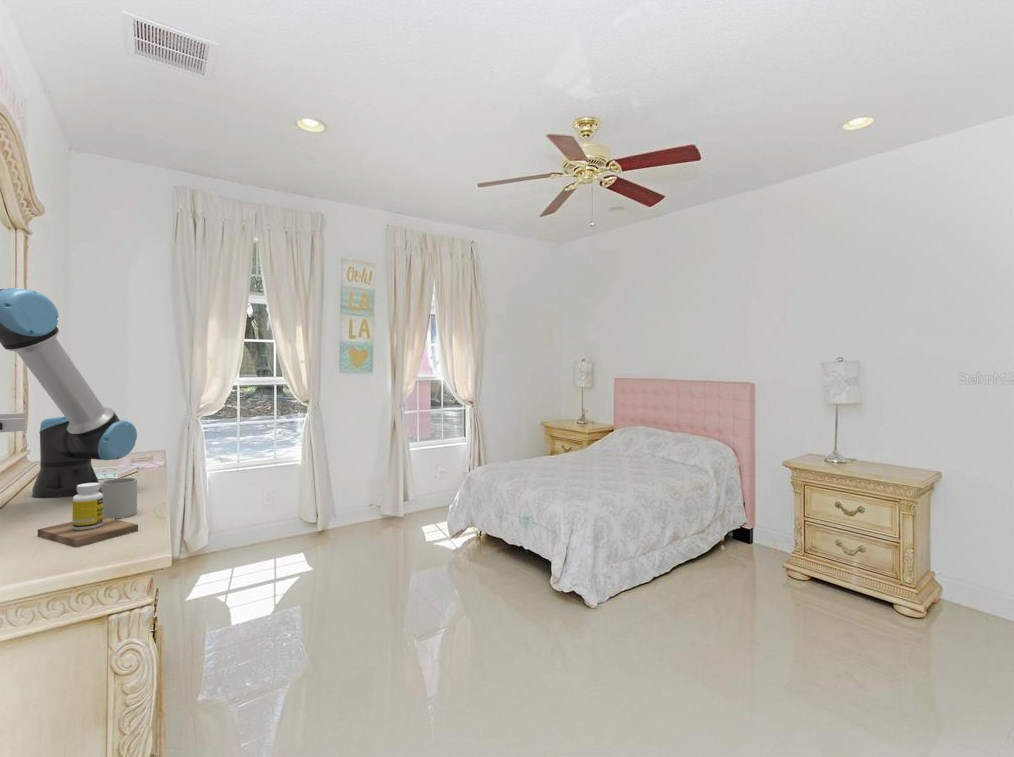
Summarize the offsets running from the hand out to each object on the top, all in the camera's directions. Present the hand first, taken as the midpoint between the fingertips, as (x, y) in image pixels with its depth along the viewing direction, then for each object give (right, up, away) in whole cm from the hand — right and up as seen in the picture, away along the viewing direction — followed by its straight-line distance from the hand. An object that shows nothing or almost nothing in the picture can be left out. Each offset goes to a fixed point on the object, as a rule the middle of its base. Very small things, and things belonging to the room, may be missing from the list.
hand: (25, 421), depth 113 cm
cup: (+8, -26, +18) cm, 32 cm away
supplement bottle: (+12, -25, +2) cm, 28 cm away
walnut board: (+13, -26, +2) cm, 29 cm away
